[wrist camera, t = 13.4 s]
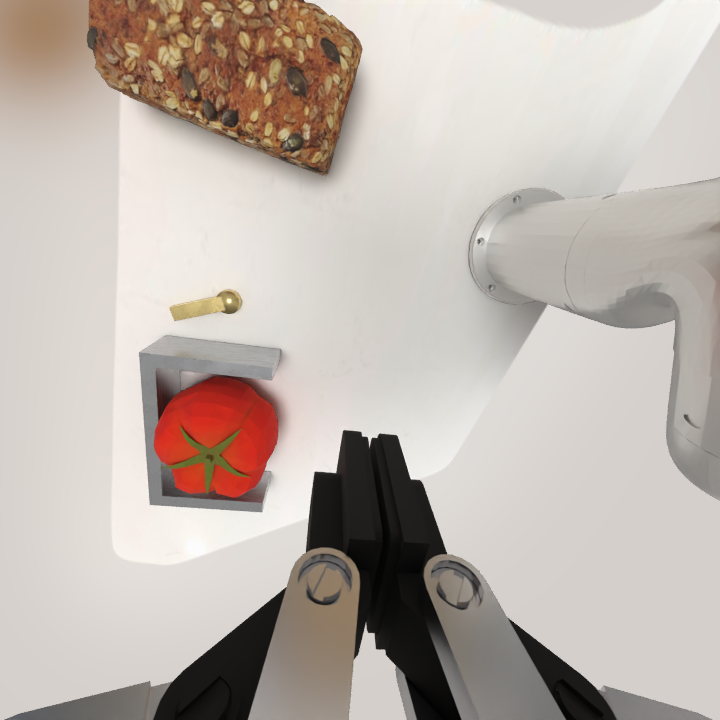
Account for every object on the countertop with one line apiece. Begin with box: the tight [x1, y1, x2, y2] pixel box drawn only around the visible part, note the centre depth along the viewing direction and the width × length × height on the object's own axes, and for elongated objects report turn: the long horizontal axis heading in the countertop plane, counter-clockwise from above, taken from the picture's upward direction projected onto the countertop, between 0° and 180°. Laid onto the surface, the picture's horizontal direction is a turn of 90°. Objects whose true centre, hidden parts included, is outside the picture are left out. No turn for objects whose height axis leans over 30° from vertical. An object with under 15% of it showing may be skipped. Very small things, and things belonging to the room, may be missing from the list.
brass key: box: [169, 290, 242, 321], centre depth 40 cm, size 8×3×1 cm, turn 101°
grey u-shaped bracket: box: [139, 335, 281, 512], centre depth 43 cm, size 14×20×6 cm
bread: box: [87, 0, 362, 176], centre depth 29 cm, size 19×11×10 cm, turn 70°
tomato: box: [154, 376, 278, 498], centre depth 41 cm, size 14×13×10 cm
